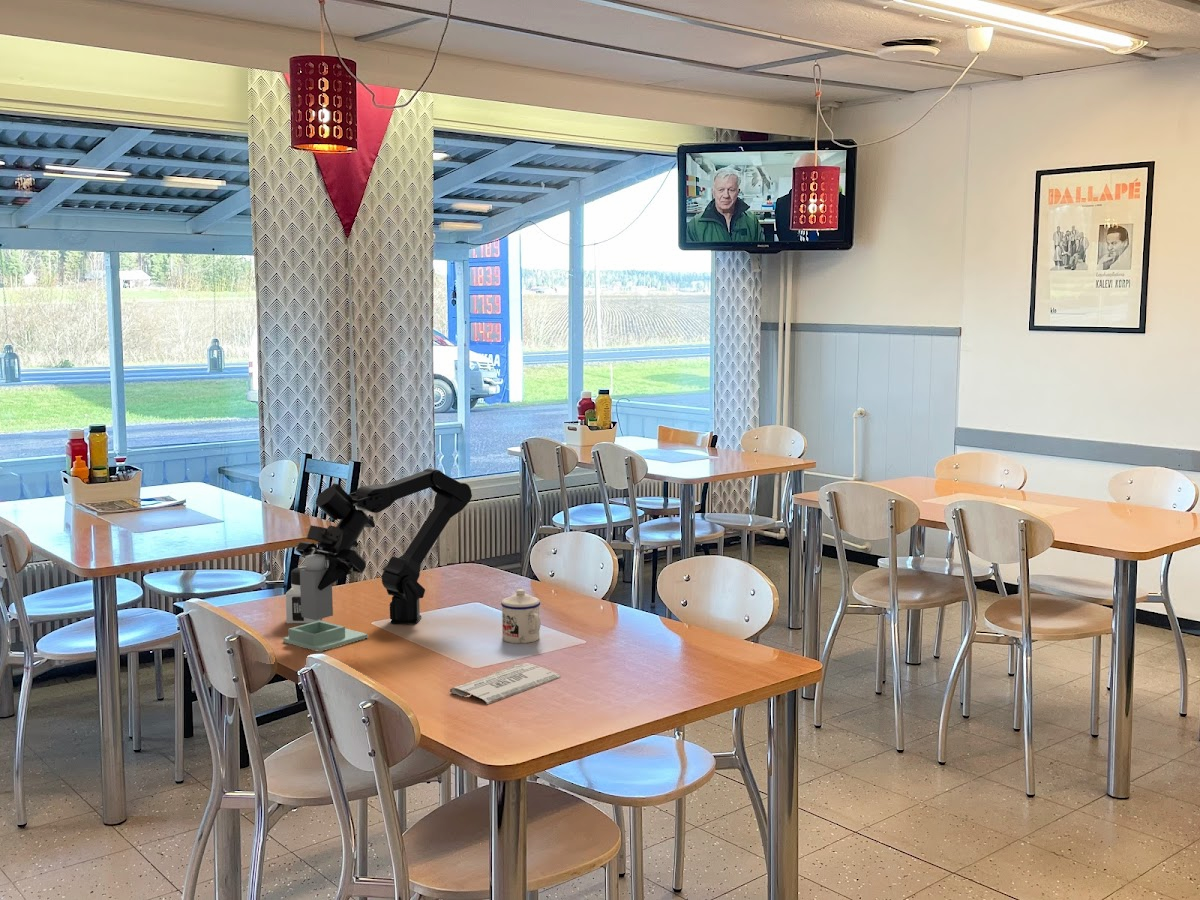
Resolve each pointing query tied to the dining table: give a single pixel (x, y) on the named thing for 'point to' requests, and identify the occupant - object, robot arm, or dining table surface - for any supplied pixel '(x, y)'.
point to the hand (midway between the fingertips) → (311, 587)
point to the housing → (322, 636)
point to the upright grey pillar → (315, 589)
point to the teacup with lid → (520, 618)
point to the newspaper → (506, 682)
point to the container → (295, 600)
